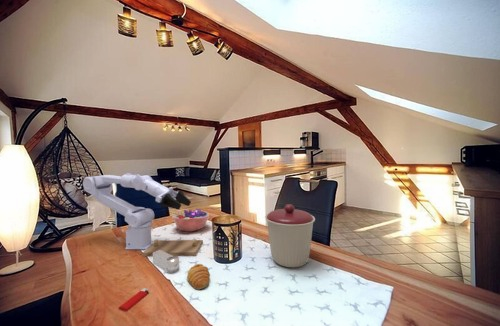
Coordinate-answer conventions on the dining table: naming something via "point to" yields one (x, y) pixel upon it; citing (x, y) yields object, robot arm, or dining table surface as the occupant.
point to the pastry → (198, 276)
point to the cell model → (191, 219)
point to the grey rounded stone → (166, 261)
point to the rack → (175, 247)
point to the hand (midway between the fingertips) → (185, 205)
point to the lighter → (134, 300)
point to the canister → (290, 235)
